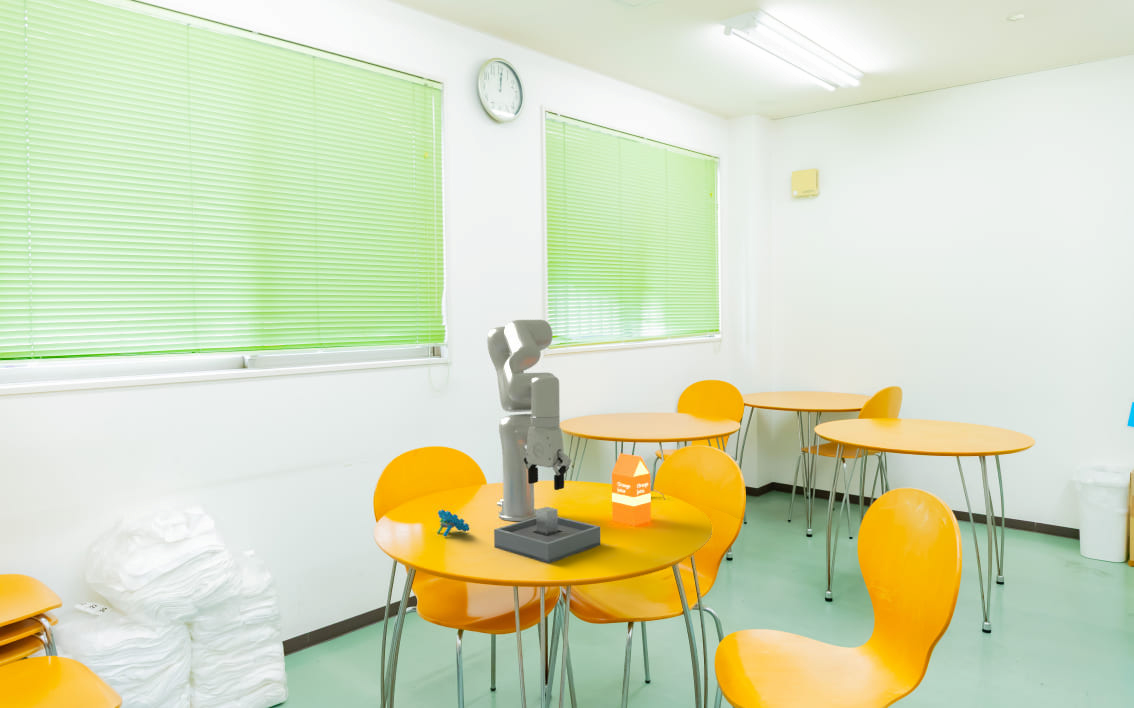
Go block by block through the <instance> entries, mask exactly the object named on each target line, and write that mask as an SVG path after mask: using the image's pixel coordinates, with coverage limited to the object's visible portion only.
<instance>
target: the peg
mask: <svg viewBox="0 0 1134 708" xmlns="http://www.w3.org/2000/svg"><path fill="white" fill-rule="evenodd" d="M558 513H559V512H558V508H554V507H550V506H544V507H542V508H537V509H536V525H537V534H540V535H544V536H550V535H553V534H557V533H558V517H559V515H558Z"/></svg>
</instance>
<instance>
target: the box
mask: <svg viewBox="0 0 1134 708" xmlns="http://www.w3.org/2000/svg"><path fill="white" fill-rule="evenodd" d="M493 532H494V533H493V535H494V536H493V541H494V545H493V546H494V548H495V549H497V550H502V551H505V552H508V553H512V554H515V555H518V556H521V557H525V558H528V559H530V560H531V559H532V560H534V561H538V562H540V563H545V564H548V565H549V564H551V563H554V562H557V561H559V560H563V559H566V558H568V557H570V556H571V557H572V556H574V555H576V554H580V553H582V552H586V551H588V550H591V549H593V548H596V547H599V546H601V526H598V525H595V524H591V523H586V522H583V521H578V520H573V519H570V518H564V517H562V516H561V517H560V516H558V533H557V534H553V535H550V536H544V535H540V534H537V525H536V517H535V518H532V519H528V520H525V521H517V522H515V523H511V524H509V525H508V524H507V525H505V526H502V527H501V526H500V527H499V528H495V529H493Z"/></svg>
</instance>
